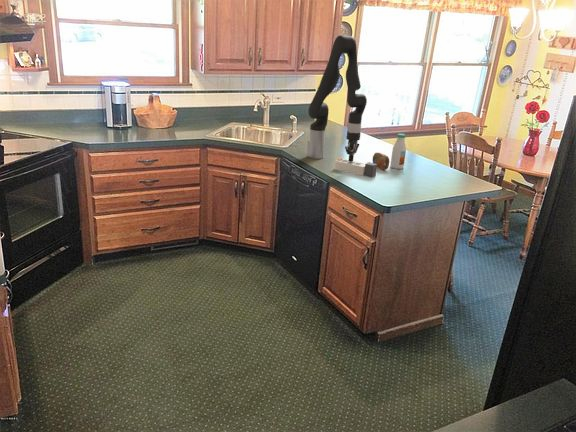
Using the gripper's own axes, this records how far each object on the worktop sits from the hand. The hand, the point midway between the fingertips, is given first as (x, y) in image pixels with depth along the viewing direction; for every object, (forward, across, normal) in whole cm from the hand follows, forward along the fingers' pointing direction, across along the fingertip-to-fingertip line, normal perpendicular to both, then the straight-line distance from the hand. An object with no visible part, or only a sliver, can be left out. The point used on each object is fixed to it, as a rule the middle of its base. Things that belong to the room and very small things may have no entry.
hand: (350, 161), depth 281 cm
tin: (+6, -19, +10) cm, 22 cm away
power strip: (+6, 0, +1) cm, 6 cm away
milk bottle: (+6, -27, +17) cm, 32 cm away
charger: (+5, 0, +11) cm, 13 cm away
